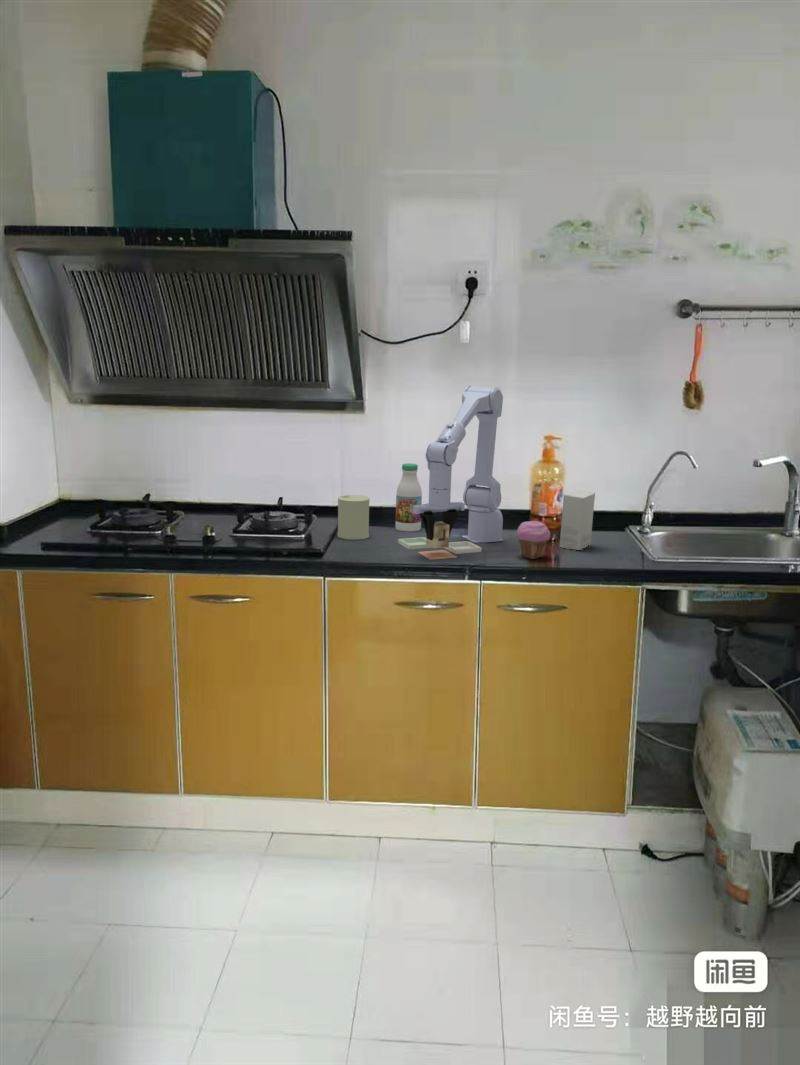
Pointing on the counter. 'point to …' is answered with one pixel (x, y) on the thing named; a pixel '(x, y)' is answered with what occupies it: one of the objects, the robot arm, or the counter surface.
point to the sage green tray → (414, 543)
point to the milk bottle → (408, 499)
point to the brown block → (439, 536)
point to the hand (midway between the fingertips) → (438, 538)
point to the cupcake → (533, 538)
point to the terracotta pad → (437, 554)
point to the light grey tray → (463, 547)
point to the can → (353, 517)
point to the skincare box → (577, 519)
